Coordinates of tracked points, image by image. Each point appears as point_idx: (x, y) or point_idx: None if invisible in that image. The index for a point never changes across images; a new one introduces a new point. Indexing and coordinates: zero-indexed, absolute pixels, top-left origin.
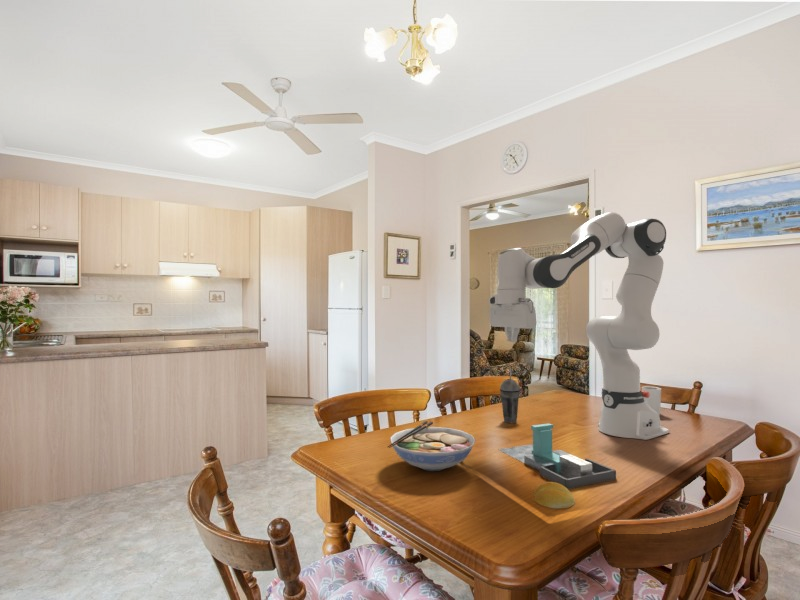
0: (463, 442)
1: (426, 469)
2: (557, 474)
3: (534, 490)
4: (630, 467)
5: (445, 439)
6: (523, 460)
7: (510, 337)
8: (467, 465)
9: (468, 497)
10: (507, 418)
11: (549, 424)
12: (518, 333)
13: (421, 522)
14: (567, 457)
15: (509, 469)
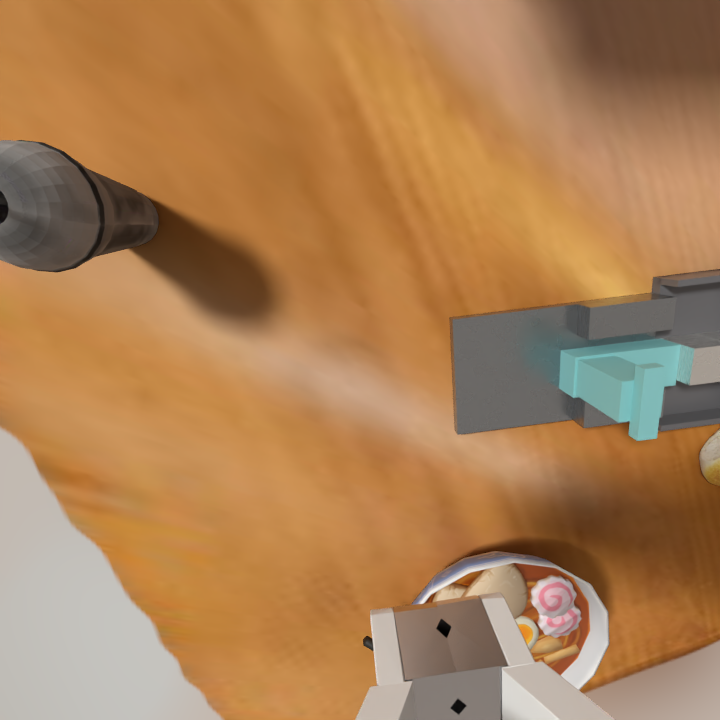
0: (520, 575)
1: None
2: (714, 420)
3: (716, 484)
4: (698, 137)
5: None
6: (556, 412)
7: (475, 717)
8: (503, 527)
9: (639, 575)
10: (144, 241)
11: (655, 376)
12: (607, 714)
13: (674, 654)
14: (707, 371)
15: (563, 453)
